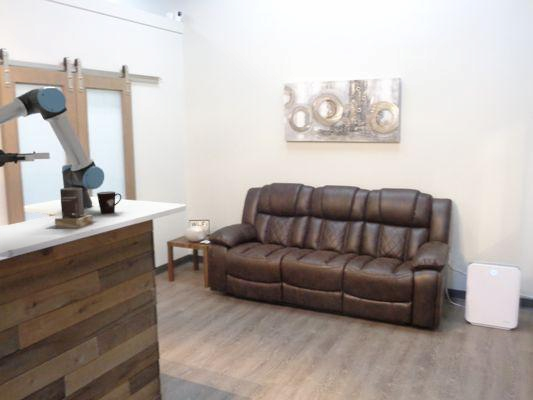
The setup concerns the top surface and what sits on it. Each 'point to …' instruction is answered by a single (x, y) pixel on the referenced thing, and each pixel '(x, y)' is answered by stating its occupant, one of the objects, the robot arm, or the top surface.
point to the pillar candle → (74, 193)
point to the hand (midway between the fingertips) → (41, 156)
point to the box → (70, 207)
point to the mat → (66, 227)
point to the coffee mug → (107, 202)
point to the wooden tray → (74, 221)
